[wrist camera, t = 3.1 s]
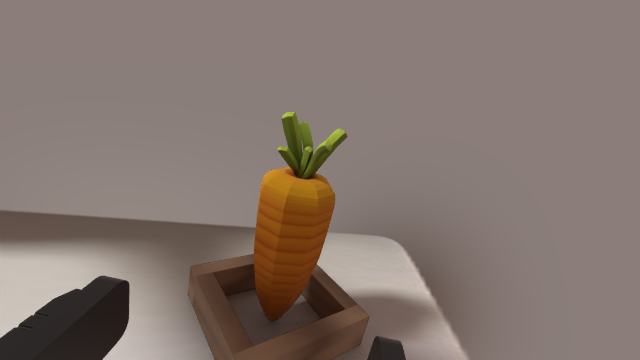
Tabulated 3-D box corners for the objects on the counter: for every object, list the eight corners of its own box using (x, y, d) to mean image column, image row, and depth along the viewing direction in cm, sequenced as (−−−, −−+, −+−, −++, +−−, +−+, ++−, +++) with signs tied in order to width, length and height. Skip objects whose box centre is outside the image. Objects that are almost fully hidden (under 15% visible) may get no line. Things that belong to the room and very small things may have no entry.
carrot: (312, 307, 24) (358, 122, 19) (293, 357, 19) (348, 129, 15) (255, 287, 25) (287, 105, 20) (224, 331, 20) (256, 106, 15)
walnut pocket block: (234, 409, 16) (240, 373, 15) (188, 294, 22) (190, 266, 22) (360, 343, 21) (369, 315, 21) (293, 268, 28) (297, 245, 27)
